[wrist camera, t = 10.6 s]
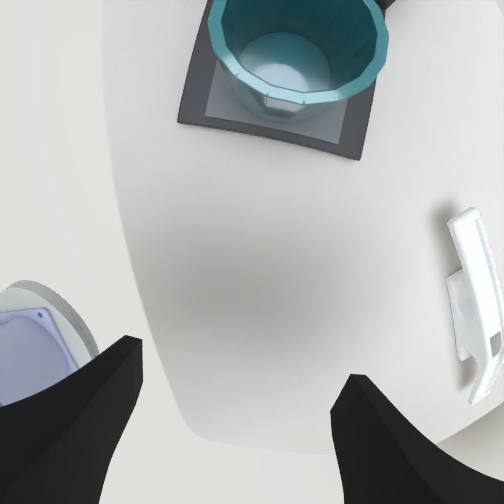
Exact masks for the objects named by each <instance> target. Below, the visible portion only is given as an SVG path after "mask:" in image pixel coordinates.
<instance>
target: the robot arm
mask: <svg viewBox="0 0 504 504" xmlns="http://www.w3.org/2000/svg"><path fill="white" fill-rule="evenodd" d="M142 383H143V362H142V339H139V338H135V337H131V336H127V335H125V336H123V337H122V338H121V339H119V340H118V341H117V342H115V343H114V344H113V345H111V346H110V347H109V348H107V349H106V350H105V351H103V352H102V353H101V354H99V355H98V356H97V357H95V358H94V359H92V360H91V361H90V362H88V363H87V364H85V365H84V366H83V367H81V368H80V369H79V367H78V365H77V364H76V362H75V360H74V358H73V356H72V355H71V353H70V351H69V349H68V347H67V345H66V343H65V342H64V340H63V338H62V336H61V334H60V332H59V330H58V328H57V326H56V324H55V322H54V319H53V317H52V315H51V313H50V311H49V310H48V309H47V308H46V307H40V308H31V309H23V310H14V311H6V312H0V504H99V500H100V496H101V492H102V488H103V484H104V481H105V477H106V474H107V470H108V467H109V463H110V461H111V458H112V455H113V453H114V451H115V448H116V446H117V444H118V442H119V440H120V438H121V435H122V433H123V431H124V429H125V427H126V424H127V422H128V420H129V418H130V416H131V414H132V412H133V409H134V407H135V405H136V402H137V399H138V396H139V392H140V390H141V386H142ZM330 414H331V429H332V437H333V442H334V447H335V452H336V456H337V461H338V466H339V470H340V475H341V480H342V485H343V492H344V504H504V481H500V480H498V479H495V478H492V477H489V476H487V475H484V474H482V473H480V472H478V471H476V470H474V469H472V468H470V467H468V466H466V465H464V464H462V463H461V462H459V461H458V460H456V459H454V458H453V457H451V456H450V455H448V454H447V453H445V452H444V451H443V450H441V449H440V448H438V447H437V446H436V445H435V444H434V443H432V442H431V441H430V440H429V439H427V438H426V437H425V436H424V435H423V434H422V433H421V432H420V431H418V430H417V429H416V428H415V427H414V426H413V425H412V424H411V423H410V422H409V421H408V420H407V419H406V418H405V417H404V416H403V415H402V414H401V413H400V412H399V411H398V409H397V408H396V407H395V406H394V405H393V404H392V403H391V402H390V401H389V400H388V399H387V397H386V396H385V395H384V394H383V393H382V392H381V391H380V390H379V389H378V388H377V386H376V385H375V384H374V383H373V382H372V381H371V380H370V379H369V378H368V377H367V376H366V375H358V374H350V376H349V378H348V380H347V382H346V384H345V385H344V387H343V389H342V391H341V393H340V395H339V396H338V398H337V400H336V402H335V404H334V405H333V407H332V409H331V411H330Z"/></svg>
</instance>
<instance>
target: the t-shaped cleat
mask: <svg viewBox="0 0 504 504" xmlns="http://www.w3.org/2000/svg"><path fill="white" fill-rule="evenodd" d="M447 225H448V228H449V230H450V233H451V236H452V238H453V241H454V244H455V247H456V250H457V253H458V255H459V259H460V262H461V265H462V268H461V269H460V270H458V271H457V272H455V273H453V274H452V275H450V276H449V277H448V278H447V279H446V282H447V287H448V292H449V297H450V303H451V309H452V315H453V322H454V330H455V338H456V347H457V356H458V358H459V359H460V360H461V361H464V360H465V359H467V358H468V357H470V356H471V355H472V356H473V358H474V359H475V361H476V362H477V364H478V366H479V371H478V374H477V377H476V380H475V383H474V386H473V389H472V392H471V394H470V397H469V400H468V402H469V404H470V405H471V406H473V405H475V404H476V403H478V402H479V401H481V400H482V399H483V398H485V397H486V396H488V394H489V392H490V390H491V388H492V386H493V384H494V382H495V380H496V378H497V375H498V373H499V371H500V369H501V366H502V364H503V362H504V301H503V296H502V291H501V286H500V282H499V277H498V273H497V269H496V265H495V261H494V258H493V254H492V250H491V247H490V244H489V240H488V237H487V234H486V231H485V228H484V225H483V222H482V219H481V216H480V213H479V211H478V208H477V207H469V208H468V209H466V210H465V211H463V212H461V213H460V214H458V215H457V216H455V217H453V218H452V219H450V220H449V221H448V222H447Z"/></svg>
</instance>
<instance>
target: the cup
mask: <svg viewBox="0 0 504 504" xmlns="http://www.w3.org/2000/svg"><path fill="white" fill-rule="evenodd" d="M208 27H209V32H210V36H211V41H212V46H213V50H214V52H215V55H216V57H217V59H218V61H219V63H220V65H221V67H222V69H223V72H224V74H225V76H226V78H227V80H228V82H229V85H230V87H231V89H232V91H233V93H234V94H235V95H236V97H237V98H238V100H239V101H240V102H241V104H242V105H243V106H244V107H245V108H246V109H247V110H249V111H250V112H251V113H253V114H254V115H256V116H258V117H260V118H262V119H265V120H268V121H271V122H277V123H294V122H299V121H304V120H307V119H309V118H311V117H313V116H314V115H316V114H318V113H320V112H322V111H324V110H326V109H328V108H329V107H331V106H333V105H335V104H337V103H339V102H341V101H343V100H345V99H347V98H348V97H350V96H352V95H354V94H356V93H358V92H360V91H362V90H364V89H366V88H367V87H368V86H370V84H371V83H372V81H373V80H374V79H375V77H376V76H377V74H378V73H379V72H380V70H381V69H382V68H383V66H384V65H385V62H386V55H387V48H388V40H389V34H388V31H387V28H386V25H385V21H384V18H383V16H382V13H381V10H380V8H379V6H378V5H377V4H376V3H375V1H374V0H214V2H213V5H212V8H211V12H210V15H209V18H208Z"/></svg>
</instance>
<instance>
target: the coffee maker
mask: <svg viewBox="0 0 504 504" xmlns="http://www.w3.org/2000/svg"><path fill="white" fill-rule="evenodd" d="M374 1H375V3H376V4H377V5H378V6H379V8H380V10H381V13H382V16H383V18H384V21H385V12H386V9H387V8H388V7H389V6H390V5H391V4H392V3H393V2H395V1H396V0H374ZM213 2H214V0H208V1H207V4H206V7H205V10H204V14H203V17H202V20H201V24H200V27H199V31H198V34H197V38H196V41H195V45H194V49H193V53H192V56H191V60H190V64H189V68H188V72H187V77H186V81H185V85H184V90H183V94H182V99H181V103H180V108H179V113H178V118H177V122H178V123H181V124H189V125H196V126H203V127H209V128H216V129H222V130H228V131H234V132H239V133H245V134H250V135H255V136H260V137H265V138H270V139H274V140H279V141H283V142H288V143H292V144H296V145H300V146H305V147H309V148H313V149H316V150H320V151H324V152H328V153H331V154H335V155H339V156H342V157H346V158H349V159H353V160H358V161H359V160H360V158H361V154H362V150H363V145H364V141H365V136H366V131H367V127H368V122H369V117H370V112H371V106H372V101H373V96H374V90H375V84H376V78H377V76H376V77H375V79H374V80H373V81H372V83H371V84H370V86H368V87H367V88H366V89H364V90H362V91H360V92H358V93H356V94H354V95H352V96H350V97H348V98H347V99H345V100H343V101H341V102H339V103H337V104H335V105H333V106H331V107H329V108H328V109H326V110H324V111H322V112H320V113H318V114H316V115H314V116H313V117H311V118H309V119H307V120H304V121H299V122H294V123H277V122H271V121H268V120H265V119H262V118H260V117H258V116H256V115H254V114H253V113H251V112H250V111H249V110H247V109H246V108H245V107H244V106H243V105H242V104H241V102H240V101H239V100H238V98H237V97H236V95H235V94H234V93H233V91H232V89H231V87H230V85H229V82H228V80H227V78H226V76H225V74H224V72H223V69H222V67H221V65H220V63H219V61H218V59H217V57H216V55H215V52H214V50H213V46H212V41H211V36H210V32H209V27H208V18H209V15H210V12H211V8H212V5H213Z"/></svg>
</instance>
